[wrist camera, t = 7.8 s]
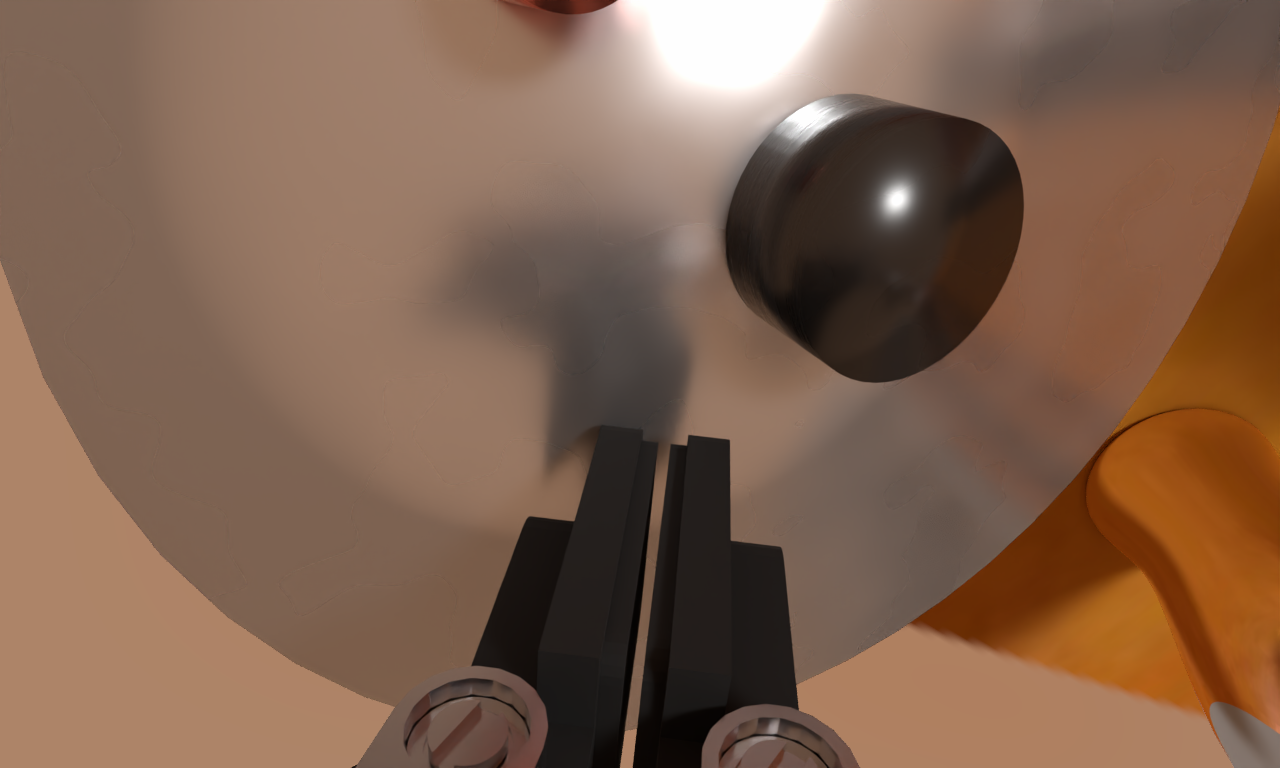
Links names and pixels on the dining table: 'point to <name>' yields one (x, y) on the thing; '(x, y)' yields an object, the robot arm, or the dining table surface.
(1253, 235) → the dining table surface
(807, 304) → the lid
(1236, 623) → the beer glass
